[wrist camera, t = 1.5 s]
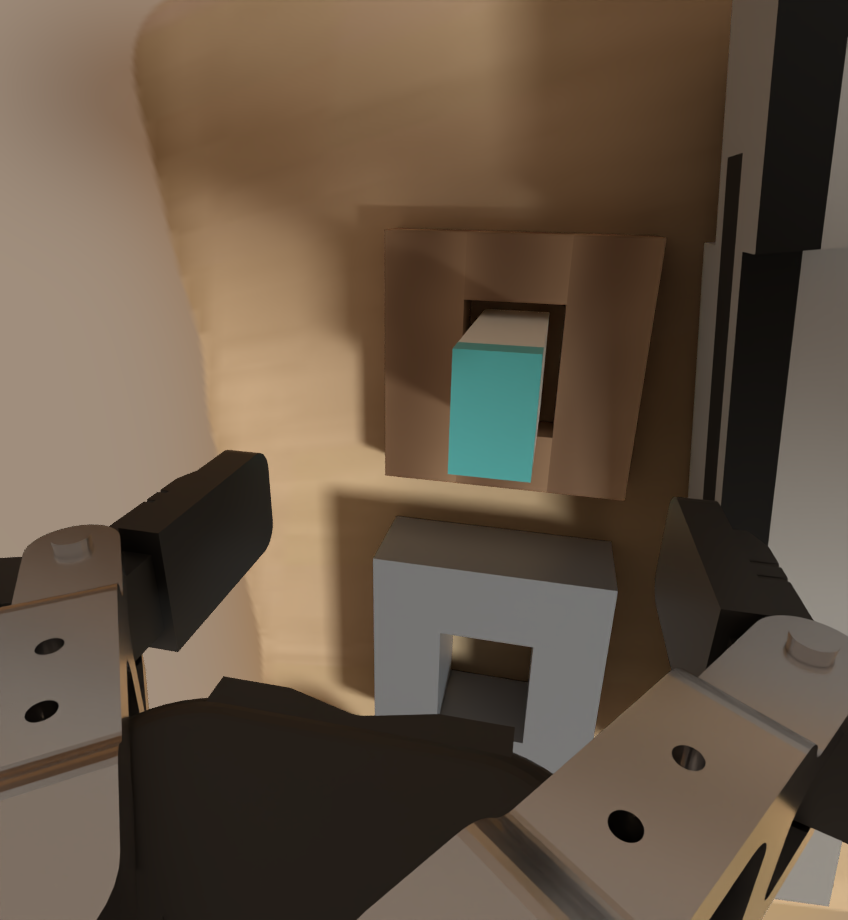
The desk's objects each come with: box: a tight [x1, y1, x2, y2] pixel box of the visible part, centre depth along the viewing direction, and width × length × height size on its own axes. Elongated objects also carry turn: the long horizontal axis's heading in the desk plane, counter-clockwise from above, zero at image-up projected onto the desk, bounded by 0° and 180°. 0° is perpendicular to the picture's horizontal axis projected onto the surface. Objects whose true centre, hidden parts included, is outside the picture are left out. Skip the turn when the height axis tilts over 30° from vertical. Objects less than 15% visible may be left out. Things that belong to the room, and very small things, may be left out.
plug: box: [448, 309, 550, 483], centre depth 22 cm, size 3×4×8 cm, turn 179°
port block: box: [373, 516, 618, 774], centre depth 29 cm, size 10×12×4 cm
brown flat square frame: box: [385, 228, 667, 501], centre depth 25 cm, size 10×10×2 cm
